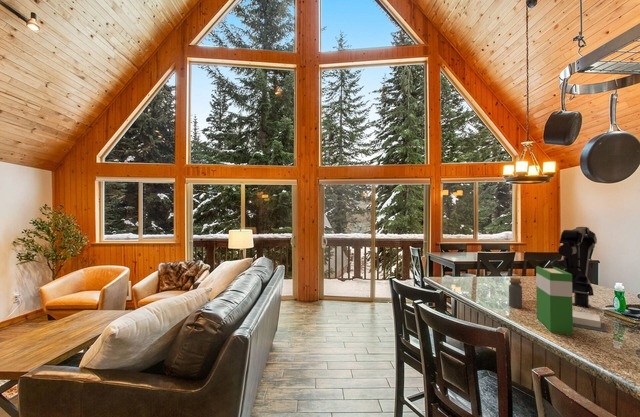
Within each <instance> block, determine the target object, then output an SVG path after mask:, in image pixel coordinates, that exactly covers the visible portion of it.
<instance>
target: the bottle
mask: <svg viewBox="0 0 640 417" xmlns="http://www.w3.org/2000/svg"><path fill="white" fill-rule="evenodd" d="M509 283H510V284H509V285H508V306H509V307H511V308H515V309H522V308H523V286H522V285H521V284H522V281H521V277H519V276H510V277H509Z"/></svg>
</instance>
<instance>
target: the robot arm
mask: <svg viewBox="0 0 640 417" xmlns="http://www.w3.org/2000/svg"><path fill="white" fill-rule="evenodd" d="M560 234H561V235H560V239H559V244H561V245H560V246H558V249H557V250H558V251H557V252H558V253H559V255H561V256H562V257H563V258H562V259H554V260H553V261H550V265H551V267H552V268H553V267H556V268H558V269H559V268H562V267H564V269H563V271H565V272H568V273H570V274H572V294H574V297H573V298H574V299H573V300H574V301H573V302H572V306H577V307H580V308H581V307H582V308H588V309H589V308H590V307H591V306H592V305H591V304H590V302H589V297H591V296H592V297H593V296H594V289H593V287H592V284H591V281H590V279H589V278H588V273H589V272H588V270H589V264H590V256H591V251H592V250H594V249H595V247H596V244H597V242H598V238H597V235H596V233H594V231H592V230H590V228H589V227H588V226H576V227H575V228H574V229H564V230H563V231H561V233H560Z"/></svg>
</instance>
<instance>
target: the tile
mask: <svg viewBox="0 0 640 417" xmlns="http://www.w3.org/2000/svg"><path fill="white" fill-rule="evenodd" d="M601 323H602V322H601V318H600V315H599V314H596V313H589V312H583V311H576V310H573V324H577V325H582V326H588V327H594V328H599V329H601Z"/></svg>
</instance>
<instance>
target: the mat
mask: <svg viewBox="0 0 640 417" xmlns="http://www.w3.org/2000/svg"><path fill="white" fill-rule="evenodd" d="M573 328H582V329H586V330H592V331H596V332H604V333H608V332H609V331H608V328H607V325H606V323H605V322H601V329H599V328H594V327H588V326H582V325H577V324H573Z"/></svg>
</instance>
